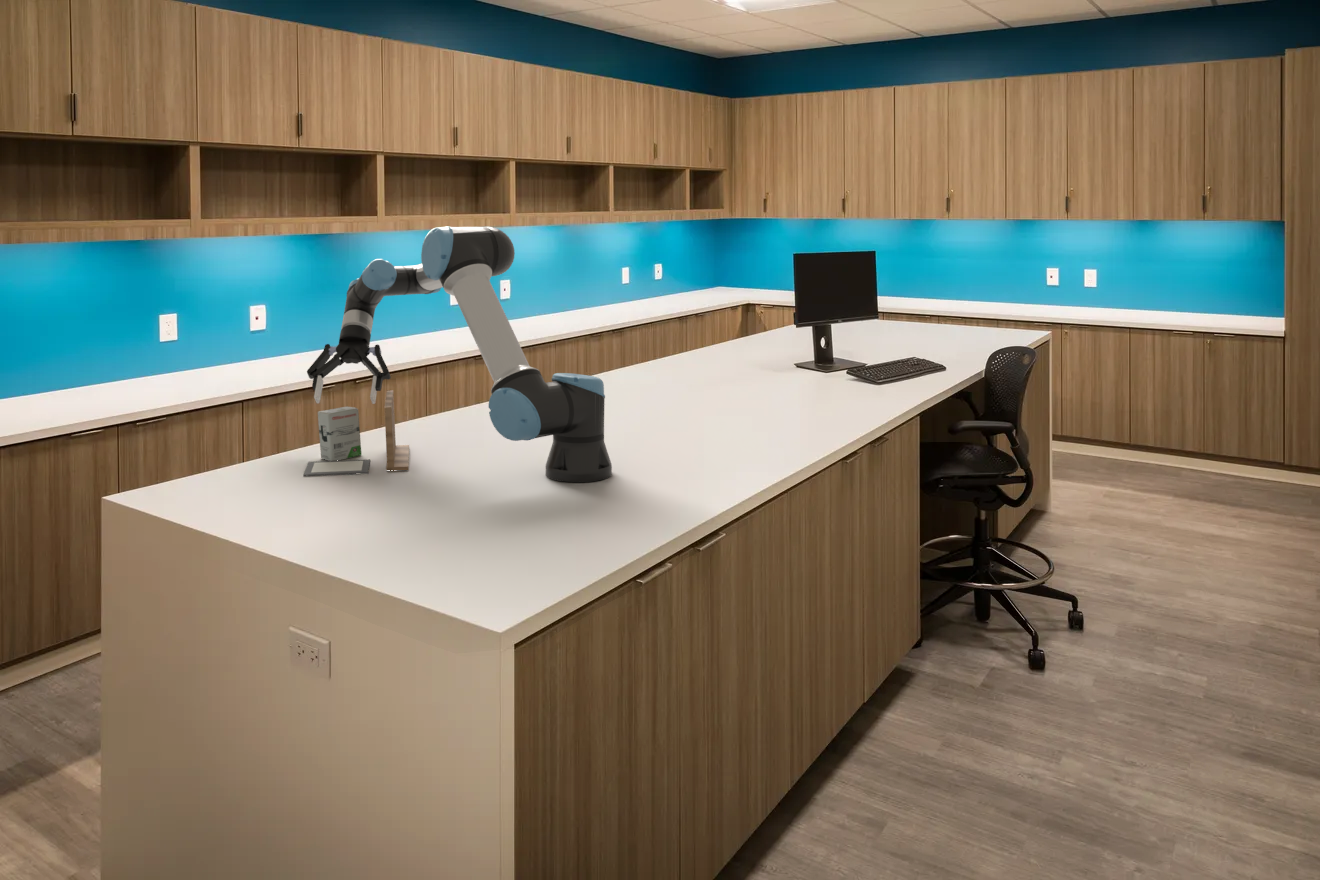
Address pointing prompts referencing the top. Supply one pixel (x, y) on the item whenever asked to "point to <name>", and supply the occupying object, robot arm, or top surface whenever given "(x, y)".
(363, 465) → the mat
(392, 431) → the light wood l-shaped piece
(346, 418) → the ink box
